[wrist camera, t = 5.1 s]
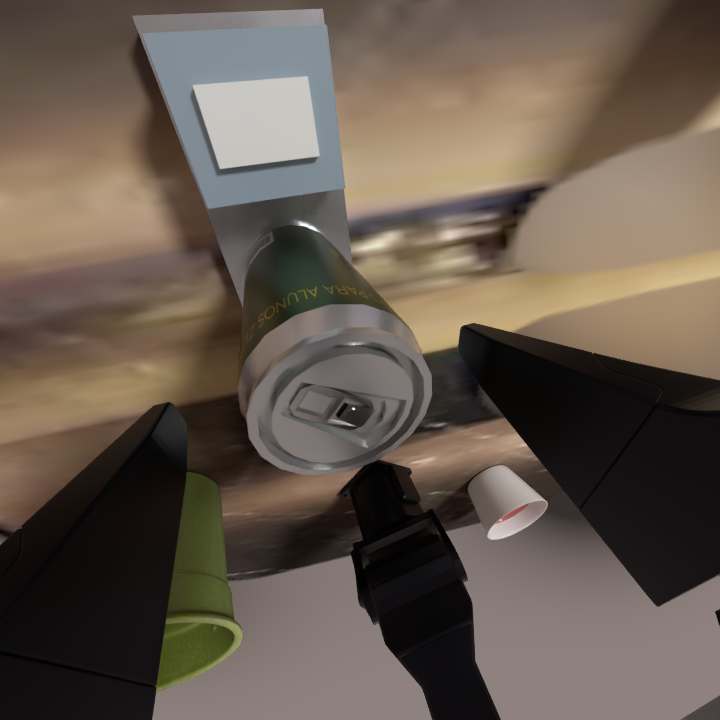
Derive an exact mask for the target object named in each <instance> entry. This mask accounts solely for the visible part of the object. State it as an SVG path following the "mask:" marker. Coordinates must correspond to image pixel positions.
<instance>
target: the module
mask: <svg viewBox="0 0 720 720" xmlns="http://www.w3.org/2000/svg"><path fill="white" fill-rule="evenodd" d="M142 34H143V37H144V40H145V42H146V45H147V48H148V50H149V53H150V56H151V58H152V61H153V64H154V66H155V69H156V72H157V74H158V77H159V80H160V82H161V85H162V88H163V90H164V93H165V96H166V98H167V101H168V104H169V106H170V109H171V112H172V114H173V117H174V120H175V122H176V125H177V128H178V130H179V133H180V136H181V138H182V141H183V144H184V146H185V149H186V152H187V154H188V157H189V160H190V162H191V165H192V168H193V170H194V173H195V176H196V178H197V181H198V184H199V186H200V189H201V192H202V194H203V197H204V200H205V202H206V205H207V208H208V209H211V208H218V207H224V206H231V205H238V204H244V203H251V202H257V201H264V200H271V199H277V198H284V197H290V196H297V195H304V194H310V193H317V192H324V191H330V190H337V189H343V188H345V182H344V173H343V164H342V155H341V147H340V138H339V129H338V120H337V111H336V102H335V93H334V85H333V76H332V67H331V58H330V49H329V40H328V31H327V25H310V26H289V27H267V28H245V29H224V30H202V31H181V32H159V33H142Z"/></svg>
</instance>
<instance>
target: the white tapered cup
mask: <svg viewBox="0 0 720 720" xmlns="http://www.w3.org/2000/svg"><path fill="white" fill-rule="evenodd" d="M468 493H469V496H470V498H471V501H472V503H473V505H474V508H475V510H476V512H477V514H478V517H479V519H480V521H481V524H482V526H483V528H484V531H485V533H486V535H487V537H488V538H489V539H491V540H497V539H502V538H505V537H508V536H510V535H513V534H515V533H517V532H518V531H520V530H522V529H524V528H526V527H527V526H529V525H530V524H532V523H533V522H534V521H536V520H537V519H538V518H539V517H540V516H541V515H542V514H543V513H544V511H545V510H546V508H547V506H548V503H547V502H546V500H544V499H543V498H542V497H541V496H540V495H539V494H538V493H537V492H535V491H534V490H533V489H532V488H531V487H530V486H529V485H528V484H526V483H525V482H524V481H523V480H522V479H521V478H520V477H518V476H517V475H516V474H515V473H514V472H513V471H512V470H510V469H509V468H508V467H506V466H504V465H497V466H493V467H490V468H488V469H486V470H484V471H482V472H481V473H479V474H478V475H477V476H475V477H474V478H473V479H472V481H471V482H470V483H469V485H468Z"/></svg>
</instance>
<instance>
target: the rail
mask: <svg viewBox="0 0 720 720" xmlns="http://www.w3.org/2000/svg"><path fill="white" fill-rule="evenodd" d="M132 17H133V20H134V22H135V25H136V27H137V30H138V33H139V35H140V38H141V41H142V43H143V46H144V49H145V51H146V54H147V56H148V59H149V62H150V64H151V67H152V70H153V72H154V75H155V78H156V80H157V83H158V85H159V88H160V91H161V93H162V96H163V99H164V101H165V104H166V107H167V109H168V112H169V114H170V117H171V120H172V122H173V125H174V128H175V130H176V133H177V136H178V138H179V141H180V143H181V146H182V149H183V151H184V154H185V157H186V159H187V162H188V165H189V167H190V170H191V172H192V175H193V178H194V180H195V183H196V186H197V188H198V191H199V194H200V196H201V199H202V201H203V204H204V207H205V209H206V212H207V215H208V217H209V220H210V223H211V225H212V228H213V230H214V233H215V236H216V238H217V241H218V244H219V246H220V249H221V252H222V254H223V257H224V259H225V262H226V265H227V267H228V270H229V273H230V275H231V278H232V281H233V283H234V286H235V288H236V291H237V294H238V296H239V299H240V302H241V304H242V307H243V299H244V285H245V271H246V264H247V260H248V256H249V252H250V250H251V249H252V248H253V246H254V245H255V243H256V242H257V240H258V239H259V238H260V237H262V236H263V235H264V234H266V233H267V232H269V231H270V230H272V229H274V228H278V227H282V226H286V225H297V226H306V227H308V228H310V229H313V230H315V231H317V232H320V233H321V234H322V235H323V236H324V237H325V238H326V239H328V240H329V241H330V242H331V243H332V244H333V245H334V246H335V247H336V248H337V250H338V251H339V252H340V253H341V254H342V255H343V256H344V257H345V258H346V259H347V260H348V261H349V263H350V264H351V265H352V257H351V248H350V240H349V231H348V222H347V214H346V205H345V196H344V188H343V189H337V190H330V191H324V192H317V193H310V194H304V195H297V196H290V197H284V198H277V199H271V200H264V201H257V202H251V203H244V204H238V205H231V206H224V207H218V208H211V209H208V208H207V205H206V202H205V200H204V197H203V194H202V192H201V189H200V186H199V184H198V181H197V178H196V176H195V173H194V170H193V168H192V165H191V162H190V160H189V157H188V154H187V152H186V149H185V146H184V144H183V141H182V138H181V136H180V133H179V130H178V128H177V125H176V122H175V120H174V117H173V114H172V112H171V109H170V106H169V104H168V101H167V98H166V96H165V93H164V90H163V88H162V85H161V82H160V80H159V77H158V74H157V72H156V69H155V66H154V64H153V61H152V58H151V56H150V53H149V50H148V48H147V45H146V42H145V40H144V37H143V34H142V33H159V32H181V31H202V30H224V29H245V28H267V27H289V26H310V25H325V24H324V15H323V9H306V10H279V11H251V12H224V13H196V14H169V15H141V16H132ZM352 266H353V265H352Z"/></svg>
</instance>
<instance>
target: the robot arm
mask: <svg viewBox="0 0 720 720" xmlns="http://www.w3.org/2000/svg"><path fill="white" fill-rule="evenodd" d="M458 350H459V353H460V355H461V356H462V358H463V359H464V361H465V363H466V364H467V366H468V367H469V369H470V370H471V372H472V374H473V375H474V377H475V378H476V380H477V382H478V383H479V384H480V386H481V387H482V389H483V390H484V391H485V393H486V394H487V395H488V397H489V398H490V399H491V400H492V402H493V403H494V404H495V405H496V407H497V408H498V409H499V410H500V412H501V413H502V414H503V415H504V417H505V418H506V419H507V420H508V422H509V423H510V424H511V425H512V427H513V428H514V429H515V430H516V432H517V433H518V434H519V435H520V437H521V438H522V439H523V440H524V442H525V443H526V444H527V445H528V447H529V448H530V449H531V450H532V452H533V453H534V454H535V455H536V457H537V458H538V459H539V460H540V462H541V463H542V464H543V465H544V467H545V468H546V469H547V470H548V472H549V473H550V474H551V475H552V477H553V478H554V479H555V480H556V482H557V483H558V484H559V485H560V487H561V488H562V489H563V490H564V492H565V493H566V494H567V495H568V497H569V498H570V499H571V500H572V502H573V503H574V504H575V505H576V507H577V508H579V511H580V512H581V513H582V514H583V516H584V517H585V518H586V519H587V521H588V522H589V523H590V524H591V526H592V527H593V528H594V529H595V531H596V532H597V533H598V534H599V536H600V537H601V538H602V539H603V541H604V542H605V543H606V544H607V546H608V547H609V548H610V549H611V551H612V552H613V553H614V554H615V556H616V557H617V558H618V560H619V561H620V562H621V563H622V564H623V566H624V567H625V568H626V570H627V571H628V572H629V573H630V575H631V576H632V577H633V578H634V580H635V581H636V582H637V583H638V585H639V586H640V587H641V588H642V590H643V591H644V592H645V593H646V595H647V596H648V597H649V598H650V599H651V600H652V601H653V603H654V604H655V605H656V606H658V607H659V606H661V605H663V604H665V603H667V602H669V601H671V600H672V599H674V598H676V597H678V596H680V595H682V594H684V593H686V592H688V591H690V590H692V589H693V588H696V587H697V586H699V585H701V584H703V583H705V582H707V581H709V580H711V579H713V578H715V577H717V576H720V380H716V379H711V378H707V377H702V376H697V375H691V374H687V373H682V372H677V371H672V370H666V369H662V368H657V367H653V366H647V365H643V364H638V363H634V362H630V361H625V360H621V359H617V358H613V357H609V356H604V355H601V354H597V353H594V354H592V352H588V351H584V350H580V349H576V348H572V347H568V346H564V345H560V344H556V343H552V342H548V341H544V340H540V339H536V338H532V337H528V336H524V335H520V334H516V333H512V332H508V331H504V330H500V329H496V328H492V327H488V326H484V325H480V324H476V323H472V324H468V325H464V326H462V327H461V329H460V336H459V344H458ZM411 474H412V471H411V469H410V468H407V467H403V466H400V465H396V464H392V463H389V462H385V461H381V460H376V461H375V462H372V463H369V464H367V465H366V466H365V467H364V469H363V470H362V471H361V472H360V473H359V474H358V475H357V476H356V477H355V478H354V479H353V480H352V481H351V482H350V483H349V484H348V485H347V486H346V487H345V488H344V489H343V490H342V491H341V493H340V495H341V498H345V499H351V500H352V502H353V506H354V509H355V513H356V516H357V520H358V523H359V526H360V530H361V533H362V537H363V540H362V541H359V542H358V541H357V542H355V543H353V548H354V550H353V551H352V552H351V556H352V560H353V564H354V568H355V575H356V582H357V583H356V584H357V592H358V600H359V604H360V606H361V607H362V608H364V609H366V610H367V613H368V615H369V616H370V618H371V620H372V622H373V624H374V625H376V624H378V623H379V625H380V628H381V631H382V635H383V638H384V642H385V644H386V646H387V647H388V648H389V650H390V651H391V652H392V653H393V654H394V655H395V657H396V658H397V659H398V660H399V661H400V662H401V664H402V665H403V666H404V667H405V668H406V670H407V671H408V672H409V673H410V674H411V675H412V677H413V678H414V679H415V680H416V681H417V683H418V684H419V685H420V686H421V687H422V689H423V692H424V695H425V698H426V701H427V704H428V708H429V711H430V714H431V717H432V720H501V719H500V717H499V715H498V712H497V710H496V708H495V705H494V703H493V701H492V699H491V696H490V694H489V692H488V689H487V687H486V685H485V682H484V680H483V678H482V676H481V673H480V671H479V669H478V666H477V664H476V662H475V645H474V626H473V607H472V601H471V598H470V596H469V594H468V592H467V590H466V588H465V585H464V582H466V581H467V580H468V579H467V575H466V572H465V569H464V567H463V564H462V562H461V560H460V558H459V556H458V554H457V552H456V550H455V548H454V546H453V544H452V542H451V541H450V539H449V537H448V535H447V534H446V532H445V530H444V528H443V527H442V525H441V523H440V521H439V520H438V518H437V516H436V515H435V513H434V511H433V509H432V508H431V509H429V510H427V512H425V513H424V512H423V510H422V508H421V506H420V504H419V502H420V501H421V498H420V496H419V494H418V492H417V490H416V488H415V486H414V484H413V482H412V480H411V478H410V475H411ZM186 476H187V424H186V422H185V420H184V419H183V417H182V416H181V414H180V413H179V411H178V410H177V409H176V407H175V406H174V405H173V404H172V403H170V402H167V403H163V404H159V405H155V406H153V407H152V408H151V409H150V410H148V411H147V412H146V413H145V414H144V415H143V416H142V417H141V418H140V419H139V420H137V421H136V422H135V423H134V424H133V425H132V426H131V427H130V428H129V429H128V430H126V431H125V432H124V433H123V434H122V435H121V436H120V437H119V438H118V439H117V440H115V441H114V442H113V443H112V444H111V445H110V446H109V447H108V448H107V449H106V450H104V451H103V452H102V453H101V454H100V455H99V456H98V457H97V458H96V459H95V460H93V461H92V462H91V463H90V464H89V465H88V466H87V467H86V468H85V469H84V470H82V471H81V472H80V473H79V474H78V475H77V476H76V477H75V478H74V479H73V480H71V481H70V482H69V483H68V484H67V485H66V486H65V487H64V488H63V489H62V490H60V491H59V492H58V493H57V494H56V495H55V496H54V497H53V498H52V499H51V500H49V501H48V502H47V503H46V504H45V505H44V506H43V507H42V508H41V509H40V510H38V511H37V512H36V513H35V514H34V515H33V516H32V517H31V518H30V519H29V520H27V521H26V522H25V523H24V524H23V525H22V529H18V530H16V531H15V532H14V533H13V534H12V535H11V536H10V537H9V538H8V539H6V540H5V541H4V542H3V543H2V544H1V545H0V720H152V716H153V709H154V703H155V695H156V689H157V688H156V687H155V686H156V685H157V680H158V673H159V666H160V659H161V652H162V645H163V638H164V631H165V625H166V618H167V611H168V604H169V597H170V590H171V583H172V576H173V569H174V562H175V555H176V548H177V541H178V534H179V527H180V520H181V514H182V507H183V500H184V493H185V486H186ZM715 613H716V615H717V619H718V622H719V625H720V609H719V610H717V611H715ZM681 720H720V696H718V697H717V698H715V699H713V700H712V701H710V702H709V703H707V704H705V705H704V706H702V707H700V708H699V709H697V710H696V711H694V712H692V713H691V714H689V715H688V716H686V717H684V718H683V719H681Z"/></svg>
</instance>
